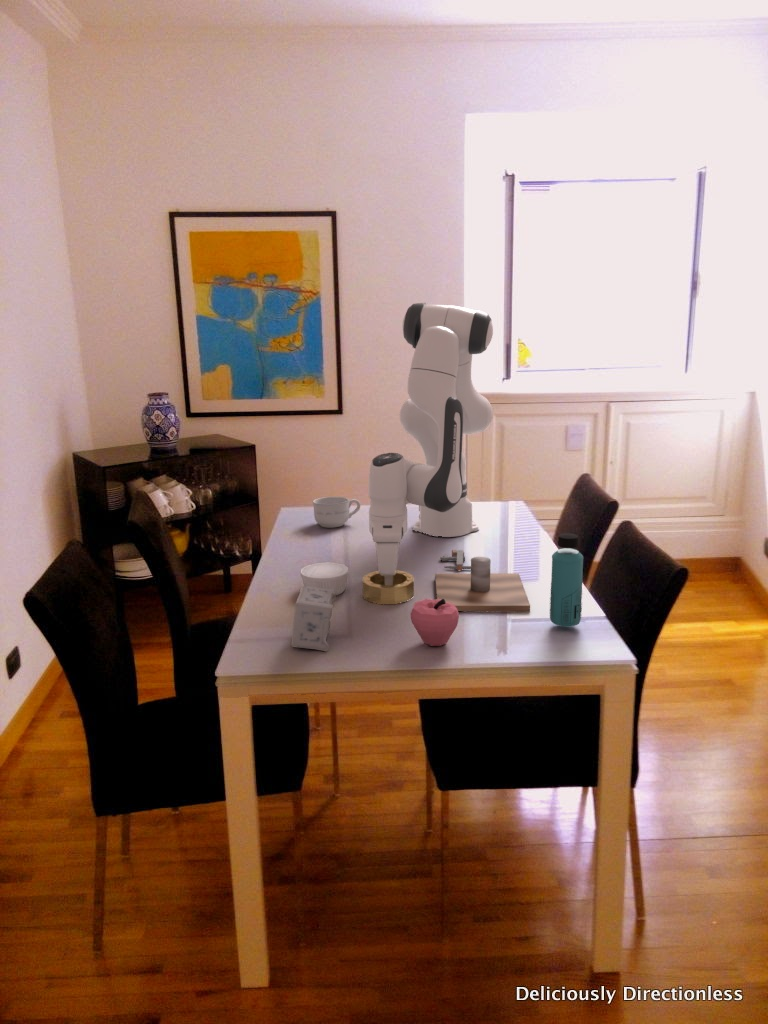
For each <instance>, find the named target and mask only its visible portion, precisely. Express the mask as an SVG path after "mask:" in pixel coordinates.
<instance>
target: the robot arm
mask: <svg viewBox="0 0 768 1024" xmlns="http://www.w3.org/2000/svg"><path fill="white" fill-rule="evenodd" d="M493 327H494V326H493V322H492V318H491V317H490V315H489V314H488V313H487V312H484V311H482V310H479V309H476V310H474V309H470V308H466V307H463V306H458V305H448V304H447V305H446V304H433V303H432V304H430V303H429V304H428V303H426V302H418V303H416V302H415V303H413V304H411V305H410V306H409V307H408V308H407V310H406V312H405V314H404V316H403V319H402V333H403V338H404V339H405V341H406V342H407V344H409V345H411V346H412V348H413V349H414V354H413V357H412V361H411V363H410V364H411V365H410V369H409V374H408V379H407V394H408V396H409V398H408V399H406V400H405V401H404V402H403V404H402V405H401V408H400V410H399V421H400V424H401V426H402V428H403V430H404V431H405V432H406V433H408V434H409V435H410V436H411V437H413V438H414V439H415V440H416V441H417V443H418V445H420V447H421V449H422V452H423V454H424V459H425V464H423V463H419V462H414V461H410V460H408V459H406V458H405V457H404V455H402V454H400V453H398V452H387V453H382V454H378V455H377V456H375V457H374V458H372V460H371V463H370V465H369V472H368V497H369V500H370V501H369V502H370V506H369V510H368V518H369V519H368V521H369V522H368V523H369V524H368V525H369V527H368V528H369V533H370V534H371V536H372V541H373V542H374V543H375V550H376V558H377V565H378V566H377V567H378V571H379V573H380V575H383V576H384V578H385V585H393V575H395V574H396V570H397V568H398V567H397V566H398V558H399V549H400V544H401V542H402V540H403V537H404V536H405V534H406V533H407V532H408V508H407V504H412V505H416V506H418V512H419V515H418V519H417V521H416V522H415V523H414V525H413V528H412V531H413V530H415V531H414V532H417V531H422V532H424V533H423V534H425V533H427V534H429V535H428V536H431V535H434V537H438V536H442V537H441V538H451V537H453V538H454V537H461V536H465V535H468V534H469V533H473V532H478V531H479V526H478V525H477V523H475V522H474V520H473V502H472V501H471V500H470V499H469V498H468V497H467V496H468V483H467V482H466V474H467V473H466V470H467V469H466V468H467V467H466V466H467V465H466V462H467V461H466V460H467V459H466V456H465V454H464V452H463V436H464V435H473V434H477V433H480V432H481V433H482V432H485V431H486V430H487V429H488V428H489V427H490V426H491V424H492V422H493V418H494V417H493V416H494V410H493V406H492V404H491V403H490V401H489V399H488V398H487V397H486V396H484V395H482V394H480V393H479V392H478V391H477V389H475V387H474V384H473V381H472V362H473V355H479V354H482V353H484V352H485V351H486V350H487V348H488V346H489V345H490V343H491V342H492V339H493V334H494V328H493ZM422 532H421V533H422ZM427 534H426V535H427Z"/></svg>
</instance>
